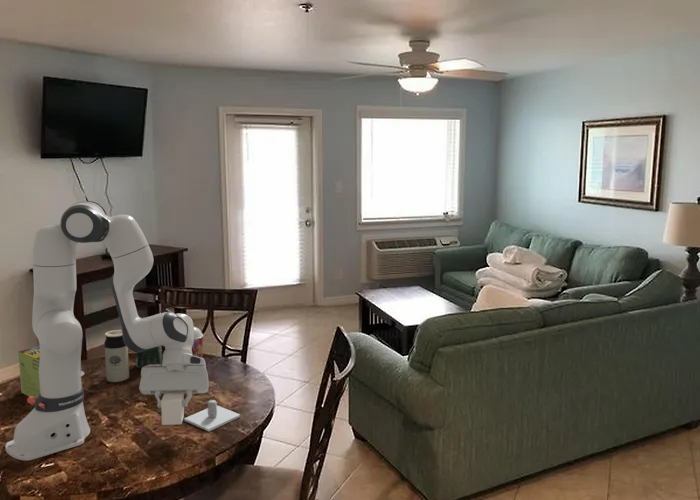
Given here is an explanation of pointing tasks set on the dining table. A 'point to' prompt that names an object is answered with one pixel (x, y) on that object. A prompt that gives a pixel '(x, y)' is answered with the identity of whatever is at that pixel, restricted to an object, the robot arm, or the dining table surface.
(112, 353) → the travel mug
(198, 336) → the smoothie
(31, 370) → the protein box
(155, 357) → the coffee jar
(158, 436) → the dining table surface
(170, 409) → the cream rectangular block
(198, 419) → the stud board
